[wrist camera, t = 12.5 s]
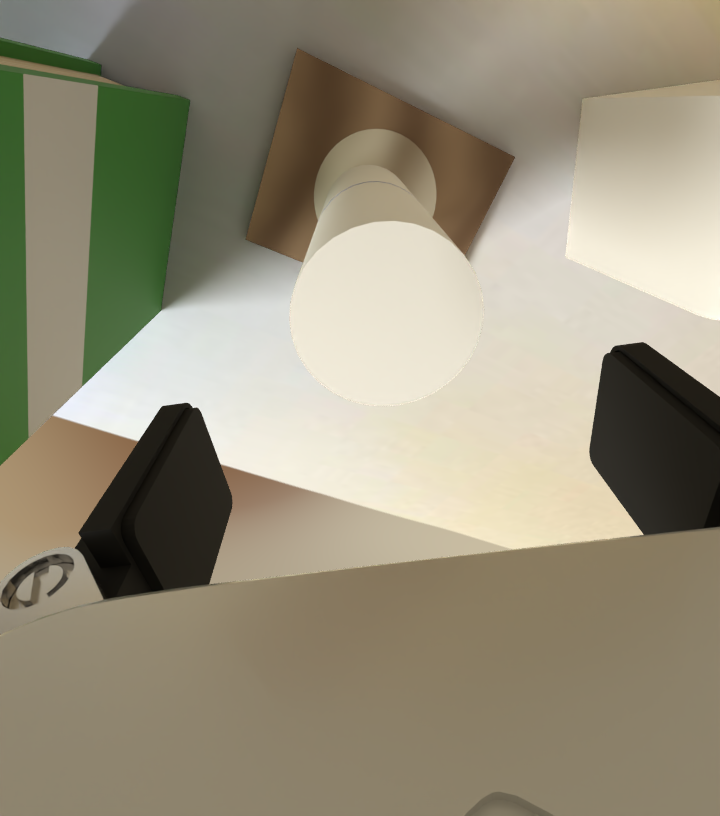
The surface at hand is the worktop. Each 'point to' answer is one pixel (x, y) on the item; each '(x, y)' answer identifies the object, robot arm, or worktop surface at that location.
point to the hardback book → (77, 224)
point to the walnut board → (366, 158)
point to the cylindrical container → (383, 295)
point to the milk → (651, 193)
